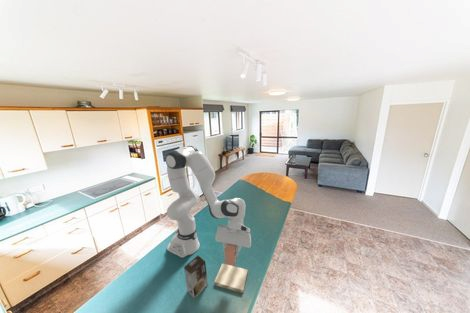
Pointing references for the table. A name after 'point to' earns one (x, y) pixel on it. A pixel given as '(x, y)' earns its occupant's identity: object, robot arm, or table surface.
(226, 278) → the birch board
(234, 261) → the brick block
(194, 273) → the coffee box
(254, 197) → the table surface
